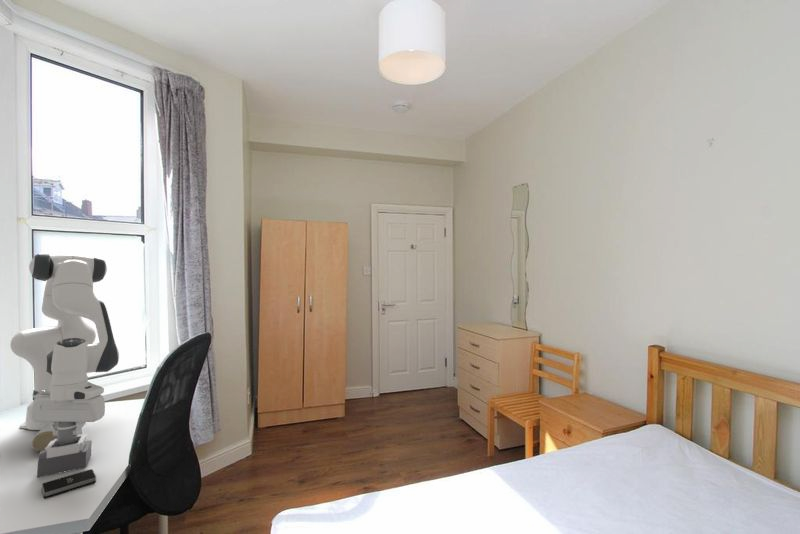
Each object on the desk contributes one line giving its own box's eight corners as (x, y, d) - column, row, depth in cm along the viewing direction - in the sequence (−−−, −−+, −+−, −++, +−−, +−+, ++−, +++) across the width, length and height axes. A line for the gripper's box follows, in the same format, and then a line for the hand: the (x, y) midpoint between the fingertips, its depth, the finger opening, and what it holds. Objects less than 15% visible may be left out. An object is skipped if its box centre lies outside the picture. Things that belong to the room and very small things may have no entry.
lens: (51, 450, 113) (53, 423, 113) (65, 443, 118) (67, 417, 118) (67, 450, 113) (69, 423, 113) (80, 443, 118) (82, 417, 118)
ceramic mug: (29, 455, 121) (31, 432, 122) (38, 445, 128) (40, 423, 129) (71, 449, 126) (73, 426, 127) (78, 439, 134) (79, 418, 134)
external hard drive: (96, 484, 106) (96, 477, 106) (42, 501, 98) (43, 493, 98) (92, 475, 111) (92, 468, 111) (40, 490, 102) (41, 483, 102)
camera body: (46, 464, 116) (47, 440, 116) (90, 455, 122) (91, 432, 122) (37, 477, 108) (38, 451, 108) (85, 467, 114) (86, 443, 114)
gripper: (25, 393, 112) (23, 439, 112) (93, 394, 113) (91, 439, 113) (44, 387, 119) (43, 430, 118) (109, 388, 119) (107, 430, 119)
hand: (67, 435), depth 115 cm, fingers closed on lens, 4 cm apart
